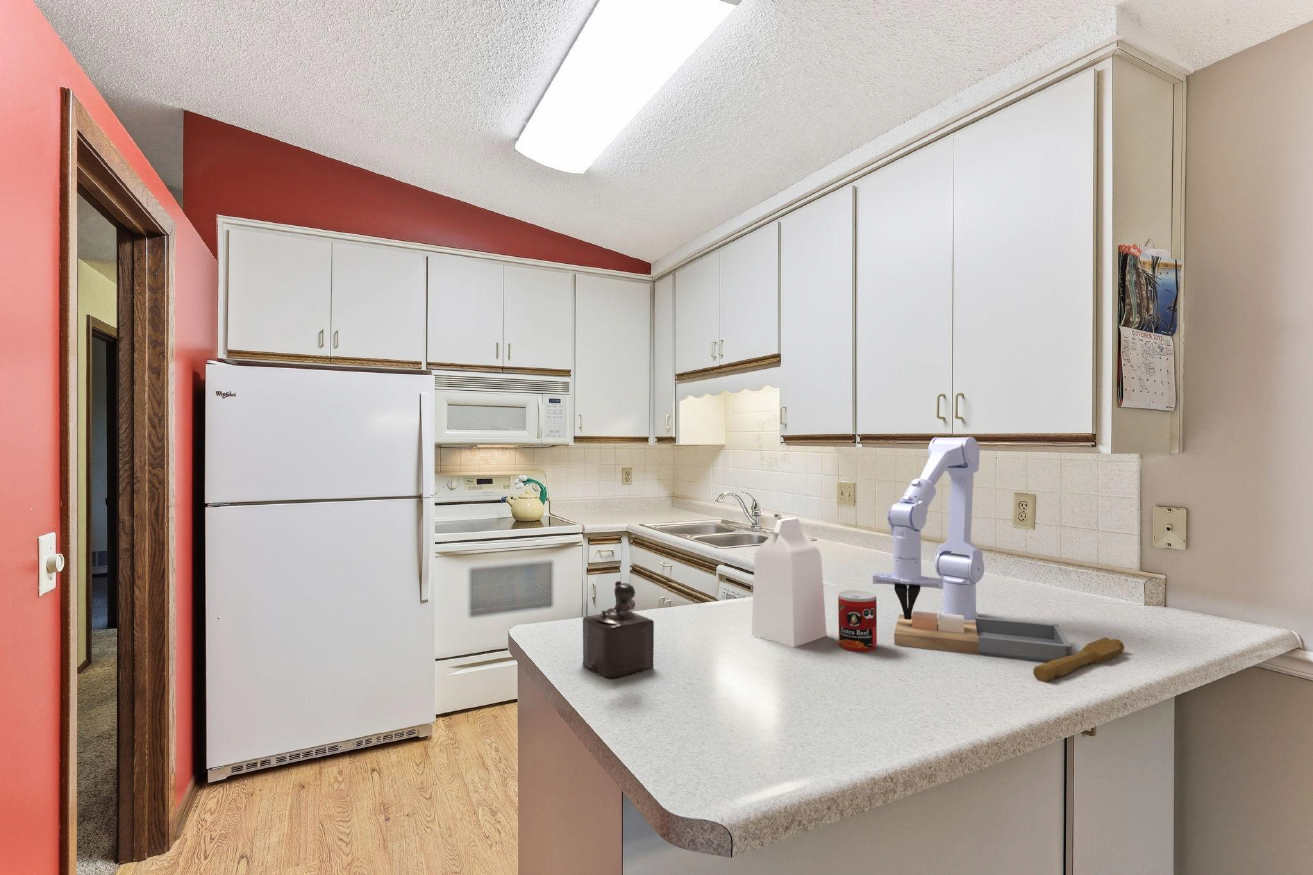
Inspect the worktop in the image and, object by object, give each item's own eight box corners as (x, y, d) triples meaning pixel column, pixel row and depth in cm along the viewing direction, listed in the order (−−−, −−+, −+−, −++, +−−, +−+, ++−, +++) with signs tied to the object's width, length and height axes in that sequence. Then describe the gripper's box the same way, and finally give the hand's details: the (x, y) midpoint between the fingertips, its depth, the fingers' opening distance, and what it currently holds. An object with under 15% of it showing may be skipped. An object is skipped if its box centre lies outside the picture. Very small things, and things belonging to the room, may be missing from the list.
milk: (793, 647, 135) (792, 523, 136) (751, 635, 144) (750, 519, 144) (826, 635, 143) (825, 519, 143) (784, 625, 152) (783, 514, 152)
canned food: (835, 649, 134) (834, 596, 134) (843, 638, 141) (842, 588, 141) (873, 654, 130) (872, 600, 130) (879, 643, 137) (879, 592, 137)
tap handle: (1036, 661, 116) (1115, 634, 132) (1028, 674, 117) (1107, 645, 133) (1052, 674, 114) (1130, 644, 129) (1044, 686, 115) (1122, 656, 131)
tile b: (938, 624, 143) (938, 613, 143) (963, 626, 140) (963, 615, 140) (938, 630, 138) (938, 618, 138) (964, 633, 136) (964, 621, 136)
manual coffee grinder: (578, 665, 126) (577, 573, 126) (625, 654, 132) (625, 566, 132) (621, 689, 113) (620, 587, 113) (671, 675, 120) (670, 579, 120)
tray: (975, 632, 144) (975, 617, 144) (1058, 641, 138) (1058, 624, 138) (978, 654, 130) (978, 637, 130) (1071, 665, 123) (1071, 646, 123)
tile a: (913, 621, 145) (913, 610, 145) (937, 624, 143) (937, 612, 143) (912, 627, 140) (911, 616, 140) (937, 630, 138) (936, 618, 138)
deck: (899, 624, 151) (899, 614, 151) (975, 632, 144) (975, 621, 144) (894, 644, 136) (894, 632, 136) (978, 654, 130) (978, 641, 130)
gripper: (871, 557, 142) (871, 619, 142) (942, 562, 136) (943, 626, 136) (874, 552, 149) (875, 611, 149) (943, 556, 143) (943, 618, 143)
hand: (907, 618), depth 143 cm, fingers closed
